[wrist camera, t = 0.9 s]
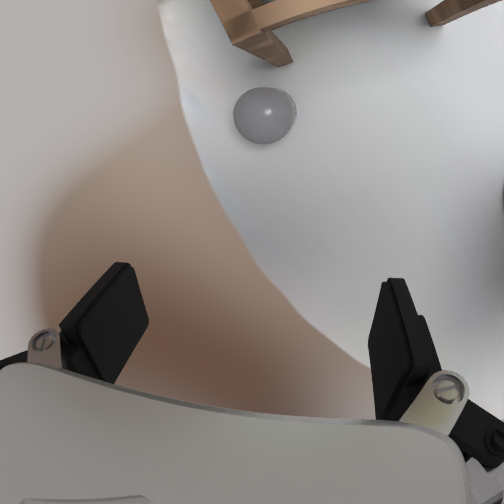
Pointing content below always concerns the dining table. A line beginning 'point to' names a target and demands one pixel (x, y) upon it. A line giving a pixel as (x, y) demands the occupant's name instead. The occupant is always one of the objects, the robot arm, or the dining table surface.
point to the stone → (264, 115)
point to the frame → (299, 7)
